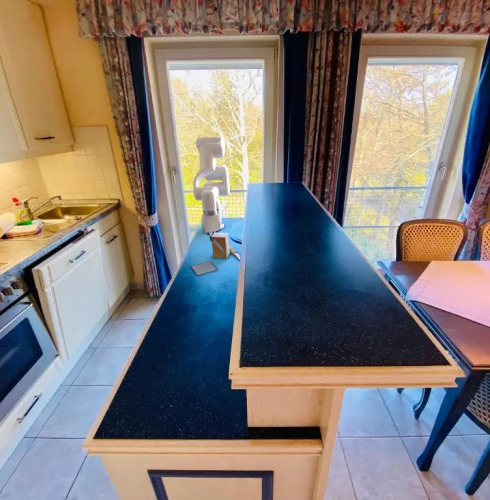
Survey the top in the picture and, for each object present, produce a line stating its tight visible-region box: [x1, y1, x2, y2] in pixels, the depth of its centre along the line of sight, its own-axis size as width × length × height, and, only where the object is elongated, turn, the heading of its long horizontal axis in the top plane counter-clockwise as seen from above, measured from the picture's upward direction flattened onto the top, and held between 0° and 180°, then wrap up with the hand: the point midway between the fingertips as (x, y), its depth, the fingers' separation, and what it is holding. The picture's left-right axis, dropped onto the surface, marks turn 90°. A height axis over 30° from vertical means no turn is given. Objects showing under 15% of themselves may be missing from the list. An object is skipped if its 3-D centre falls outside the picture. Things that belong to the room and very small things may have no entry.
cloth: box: [191, 261, 217, 276], centre depth 146 cm, size 10×10×1 cm
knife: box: [229, 245, 241, 261], centre depth 159 cm, size 17×2×2 cm, turn 28°
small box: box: [211, 232, 231, 259], centre depth 156 cm, size 8×6×13 cm
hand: (213, 241), depth 165 cm, fingers closed
